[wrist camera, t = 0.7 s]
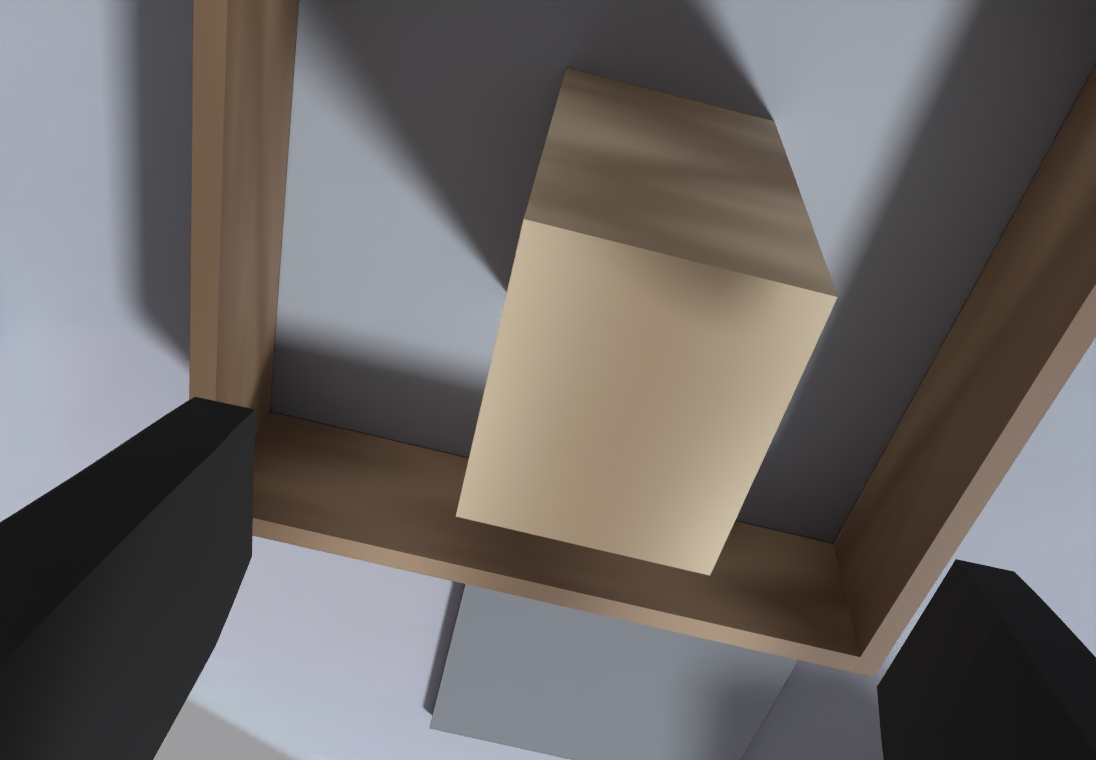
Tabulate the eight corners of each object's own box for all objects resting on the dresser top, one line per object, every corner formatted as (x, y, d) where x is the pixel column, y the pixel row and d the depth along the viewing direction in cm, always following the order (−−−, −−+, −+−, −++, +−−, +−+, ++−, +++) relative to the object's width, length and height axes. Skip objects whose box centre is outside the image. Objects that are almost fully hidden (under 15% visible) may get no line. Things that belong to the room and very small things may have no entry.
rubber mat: (821, 603, 24) (823, 615, 24) (721, 780, 28) (721, 792, 28) (480, 524, 23) (477, 535, 23) (432, 716, 28) (429, 728, 28)
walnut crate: (1216, -94, 15) (1356, -62, 12) (844, 562, 23) (872, 677, 20) (290, -348, 14) (196, -380, 11) (248, 423, 22) (188, 520, 19)
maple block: (774, 120, 17) (837, 296, 12) (692, 342, 20) (710, 575, 14) (566, 67, 17) (523, 219, 11) (512, 298, 20) (455, 516, 14)
